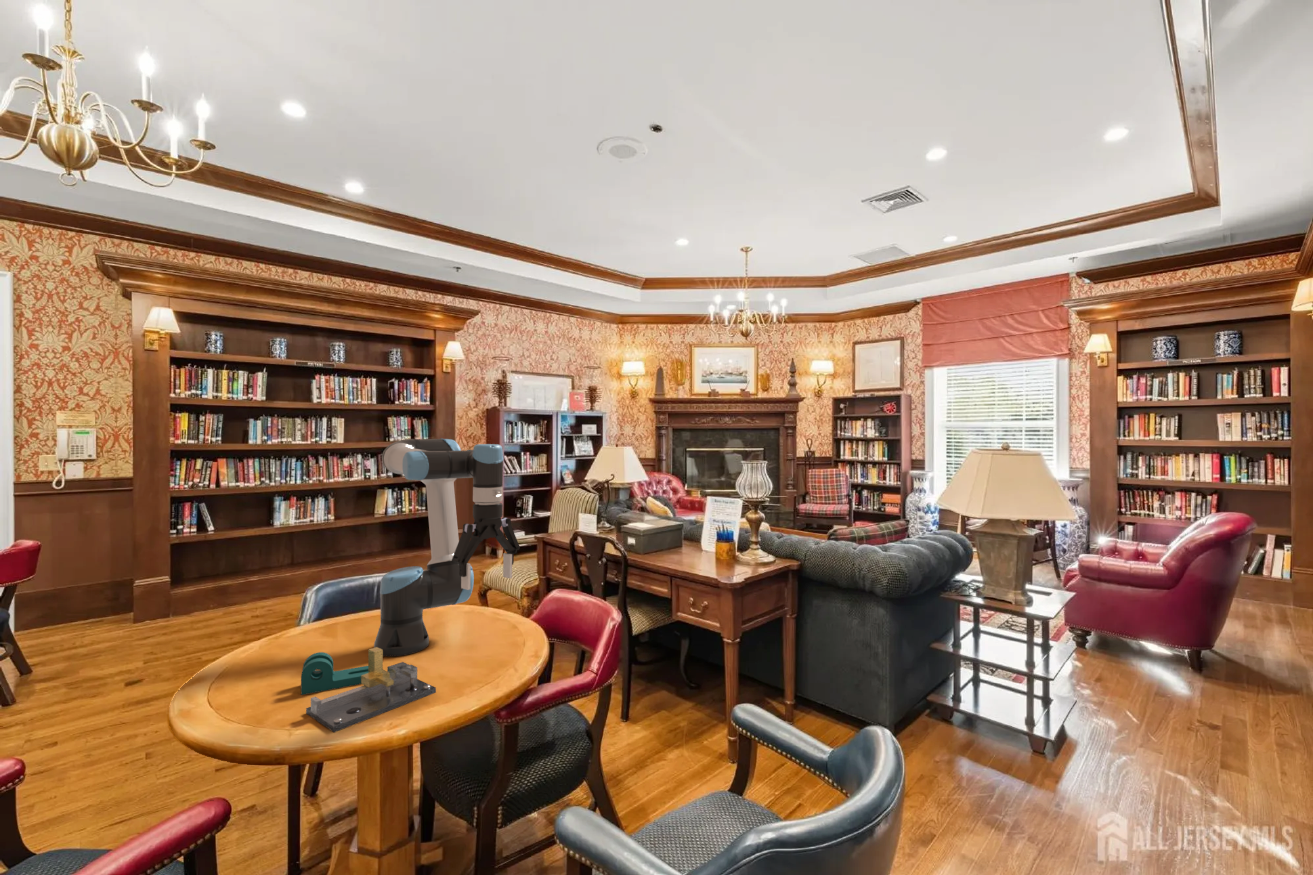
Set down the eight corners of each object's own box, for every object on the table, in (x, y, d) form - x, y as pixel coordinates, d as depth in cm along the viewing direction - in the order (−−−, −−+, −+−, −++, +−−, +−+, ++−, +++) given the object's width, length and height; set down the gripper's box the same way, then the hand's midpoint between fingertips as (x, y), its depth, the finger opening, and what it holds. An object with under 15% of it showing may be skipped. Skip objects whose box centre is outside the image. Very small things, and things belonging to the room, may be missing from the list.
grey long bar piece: (309, 710, 129) (309, 692, 129) (409, 675, 148) (409, 659, 148) (327, 722, 124) (327, 703, 124) (429, 684, 143) (429, 667, 143)
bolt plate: (306, 713, 131) (306, 705, 131) (405, 678, 150) (405, 671, 150) (333, 732, 122) (333, 723, 122) (435, 692, 141) (435, 685, 141)
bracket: (301, 695, 140) (300, 664, 140) (303, 685, 146) (303, 654, 146) (382, 681, 149) (382, 650, 149) (380, 671, 154) (380, 642, 154)
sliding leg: (361, 690, 139) (361, 650, 139) (381, 683, 143) (381, 644, 143) (379, 701, 133) (379, 659, 133) (400, 693, 137) (400, 652, 137)
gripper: (456, 509, 137) (455, 596, 138) (533, 499, 158) (532, 575, 158) (437, 506, 142) (437, 591, 142) (514, 497, 162) (514, 571, 163)
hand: (487, 583), depth 150 cm, fingers open, 13 cm apart
